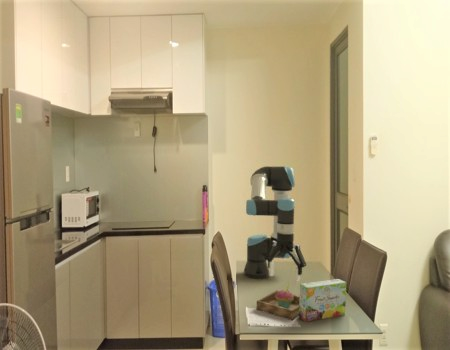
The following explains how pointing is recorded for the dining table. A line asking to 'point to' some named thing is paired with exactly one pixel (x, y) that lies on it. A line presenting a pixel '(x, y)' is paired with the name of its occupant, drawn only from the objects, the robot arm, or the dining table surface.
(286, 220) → the robot arm
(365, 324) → the dining table surface
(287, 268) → the dining table surface
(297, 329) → the dining table surface
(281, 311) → the walnut tray
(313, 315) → the snack box
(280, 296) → the cupcake
